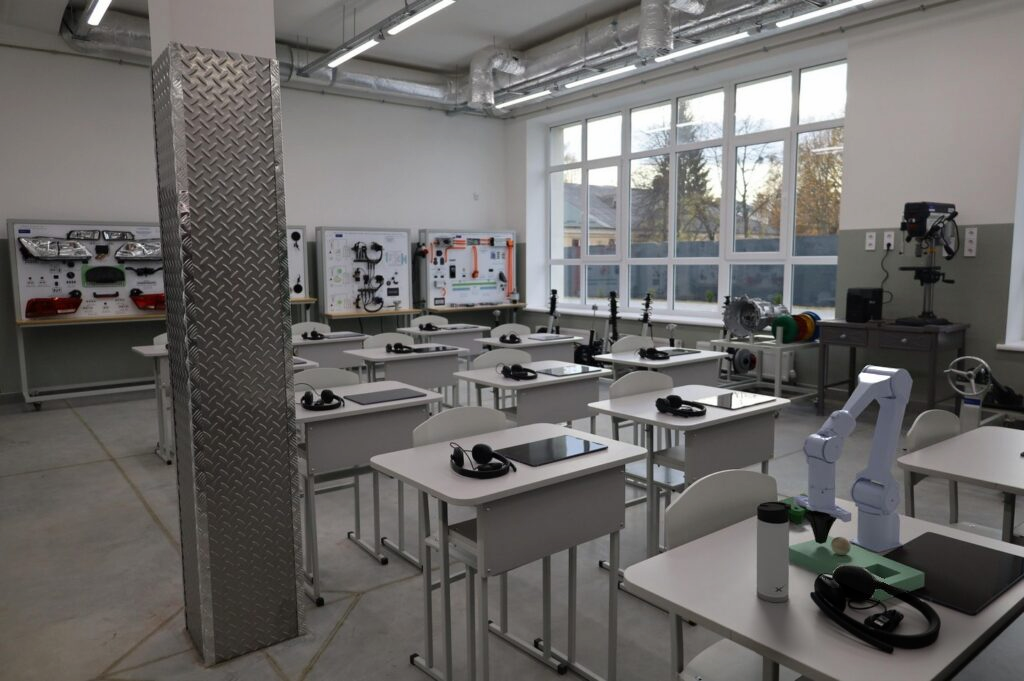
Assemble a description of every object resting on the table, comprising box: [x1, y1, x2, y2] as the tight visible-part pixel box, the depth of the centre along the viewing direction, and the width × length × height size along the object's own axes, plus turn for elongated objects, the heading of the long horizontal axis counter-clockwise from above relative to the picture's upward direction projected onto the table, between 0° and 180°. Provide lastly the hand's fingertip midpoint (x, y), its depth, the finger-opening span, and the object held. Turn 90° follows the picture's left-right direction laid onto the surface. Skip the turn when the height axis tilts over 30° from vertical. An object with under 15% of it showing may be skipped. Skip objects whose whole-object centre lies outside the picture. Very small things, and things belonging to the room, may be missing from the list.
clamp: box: [777, 493, 809, 525], centre depth 185 cm, size 12×6×9 cm, turn 117°
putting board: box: [789, 535, 926, 602], centre depth 152 cm, size 24×14×3 cm, turn 25°
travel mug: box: [756, 501, 791, 603], centre depth 141 cm, size 6×7×20 cm
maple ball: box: [831, 536, 851, 555], centre depth 154 cm, size 4×4×4 cm
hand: (820, 542), depth 159 cm, fingers closed
